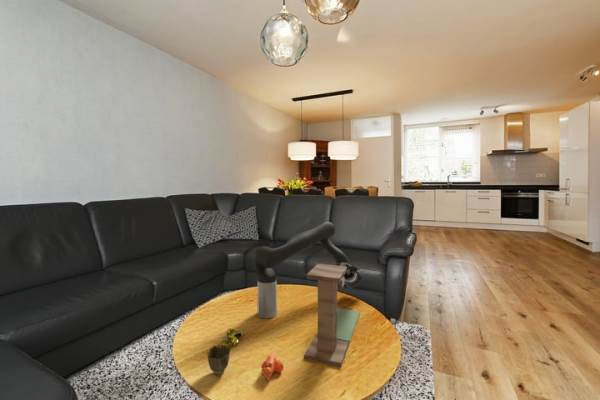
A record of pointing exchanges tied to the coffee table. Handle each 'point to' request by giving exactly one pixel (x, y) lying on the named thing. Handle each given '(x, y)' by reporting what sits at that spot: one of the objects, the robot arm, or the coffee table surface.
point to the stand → (327, 317)
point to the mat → (346, 324)
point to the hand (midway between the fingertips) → (342, 265)
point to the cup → (218, 359)
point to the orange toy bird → (271, 365)
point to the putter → (342, 278)
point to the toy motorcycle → (232, 337)
